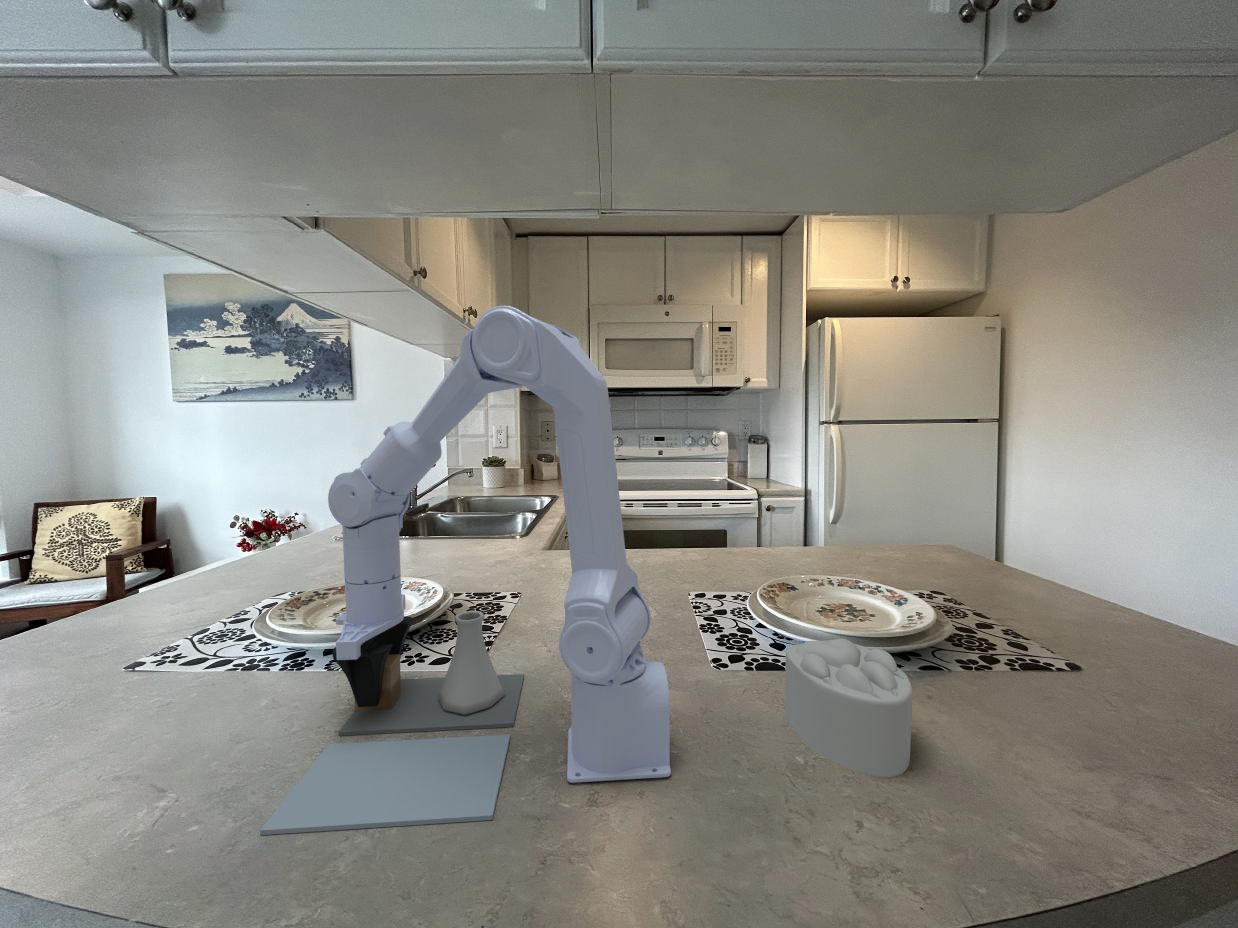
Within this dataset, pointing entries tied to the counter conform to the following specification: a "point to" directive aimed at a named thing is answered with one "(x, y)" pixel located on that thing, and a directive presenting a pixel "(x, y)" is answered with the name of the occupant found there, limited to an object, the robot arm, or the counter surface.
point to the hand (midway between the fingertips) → (377, 692)
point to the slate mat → (395, 785)
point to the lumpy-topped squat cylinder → (850, 705)
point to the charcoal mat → (427, 706)
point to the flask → (470, 670)
